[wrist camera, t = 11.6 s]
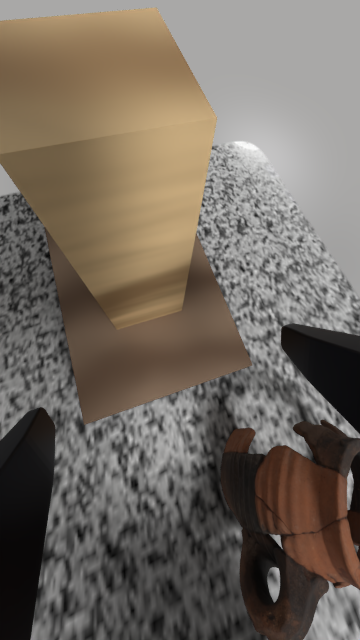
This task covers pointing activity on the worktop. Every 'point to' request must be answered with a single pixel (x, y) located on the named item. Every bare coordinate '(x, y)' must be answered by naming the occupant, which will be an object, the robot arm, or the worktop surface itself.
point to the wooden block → (108, 150)
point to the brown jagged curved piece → (294, 523)
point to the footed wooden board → (146, 342)
